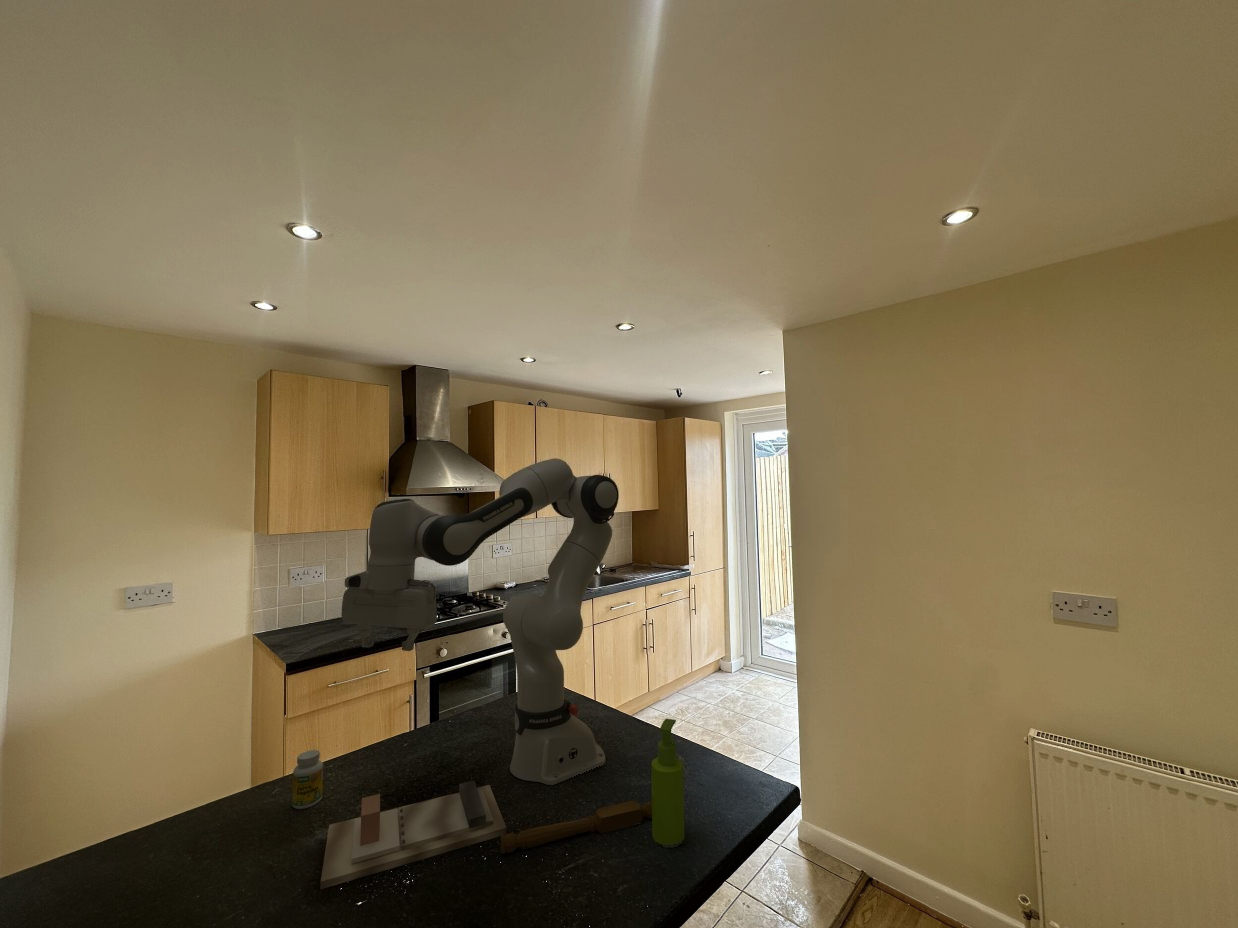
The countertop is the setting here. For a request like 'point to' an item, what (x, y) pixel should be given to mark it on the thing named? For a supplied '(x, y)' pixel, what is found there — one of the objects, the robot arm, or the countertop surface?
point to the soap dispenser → (667, 790)
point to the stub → (374, 831)
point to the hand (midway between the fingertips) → (387, 648)
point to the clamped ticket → (418, 833)
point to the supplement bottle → (307, 780)
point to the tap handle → (579, 826)
